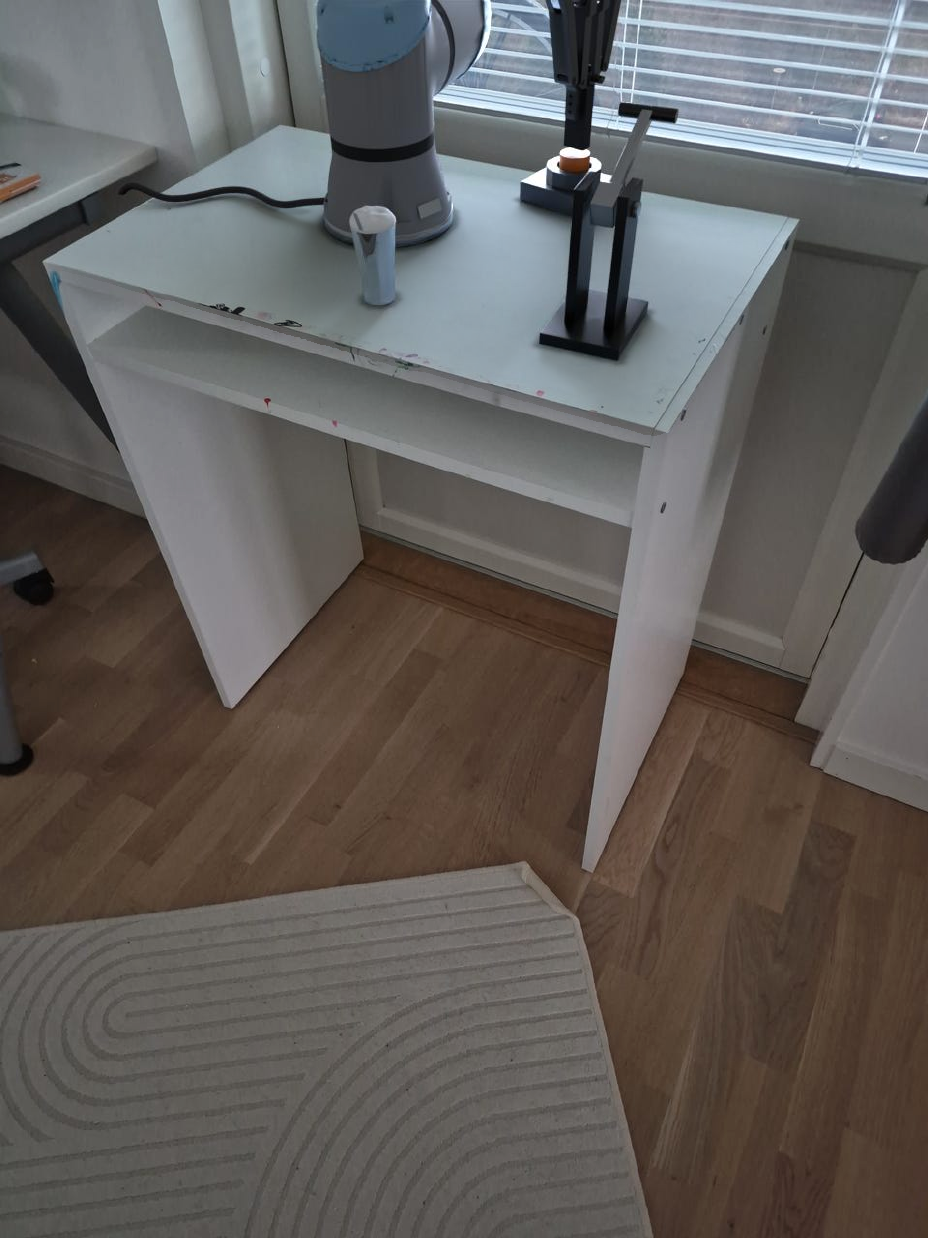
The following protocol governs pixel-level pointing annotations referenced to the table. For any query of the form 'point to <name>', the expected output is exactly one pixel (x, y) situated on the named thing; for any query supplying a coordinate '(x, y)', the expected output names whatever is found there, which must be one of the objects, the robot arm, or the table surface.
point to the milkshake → (375, 252)
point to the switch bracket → (585, 313)
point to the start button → (574, 160)
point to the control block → (556, 185)
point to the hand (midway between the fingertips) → (576, 145)
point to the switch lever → (626, 160)
